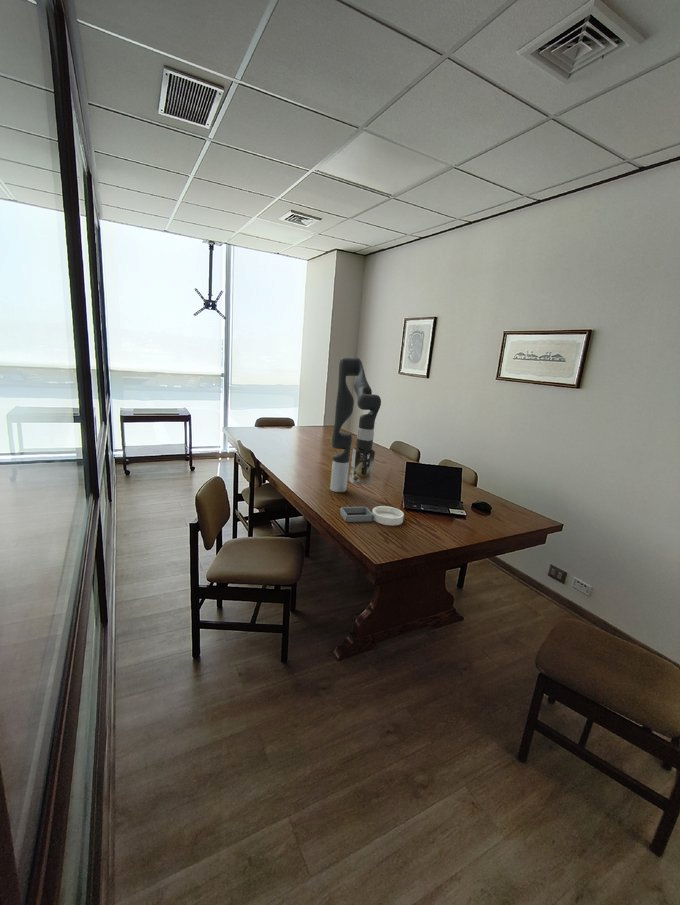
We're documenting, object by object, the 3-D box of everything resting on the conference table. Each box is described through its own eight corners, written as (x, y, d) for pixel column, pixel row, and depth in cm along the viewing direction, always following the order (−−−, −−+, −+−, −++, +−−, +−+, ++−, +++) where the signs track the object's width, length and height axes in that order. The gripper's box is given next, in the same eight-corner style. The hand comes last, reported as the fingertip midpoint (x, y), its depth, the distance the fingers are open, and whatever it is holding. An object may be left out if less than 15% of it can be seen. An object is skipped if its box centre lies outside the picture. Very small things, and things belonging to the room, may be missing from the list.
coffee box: (352, 484, 185) (355, 450, 181) (349, 479, 191) (352, 447, 187) (371, 484, 187) (375, 451, 183) (367, 480, 193) (371, 448, 189)
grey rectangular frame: (339, 512, 196) (340, 507, 195) (365, 512, 200) (366, 506, 199) (345, 522, 186) (346, 516, 186) (373, 521, 190) (373, 515, 189)
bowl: (367, 512, 199) (368, 506, 199) (395, 512, 204) (396, 505, 203) (378, 525, 186) (379, 518, 185) (407, 524, 190) (408, 518, 189)
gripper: (352, 434, 189) (349, 467, 193) (362, 441, 176) (358, 477, 180) (367, 434, 191) (363, 467, 195) (378, 441, 178) (374, 477, 182)
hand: (361, 472), depth 188 cm, fingers closed on coffee box, 6 cm apart
